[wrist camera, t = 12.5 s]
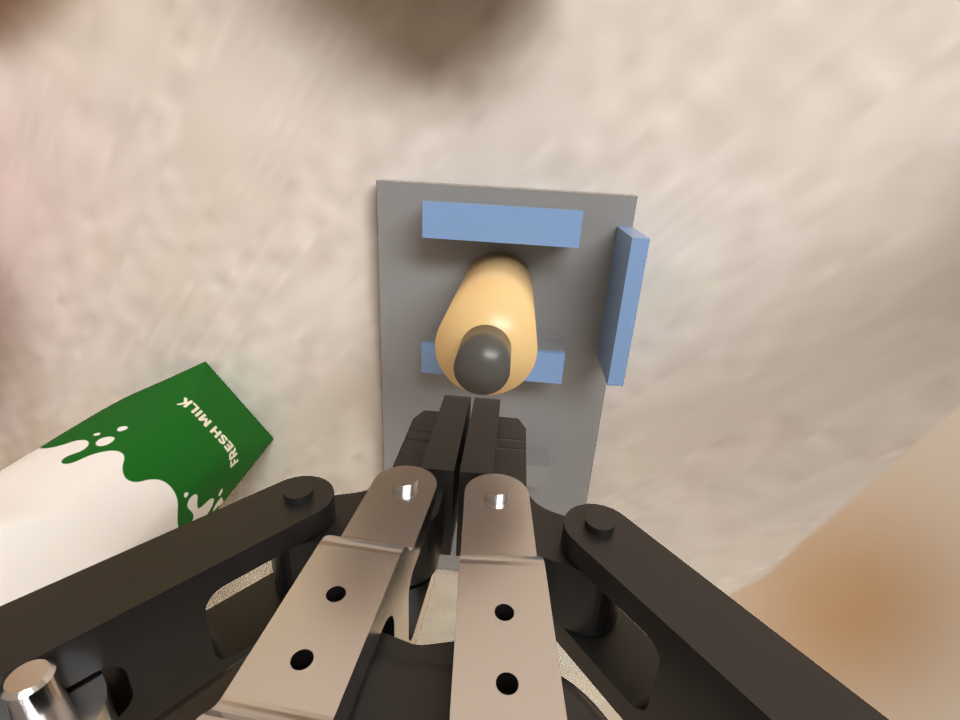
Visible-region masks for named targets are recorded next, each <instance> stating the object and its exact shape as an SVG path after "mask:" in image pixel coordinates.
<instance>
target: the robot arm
mask: <svg viewBox="0 0 960 720" xmlns="http://www.w3.org/2000/svg"><path fill="white" fill-rule="evenodd" d="M500 400H501V399H492V398H480V397H475V398H474V403H473V408H472V413H471V397H468V396H456V395H444V398H443V401H442V404H441V407H440V410H439V411H427V410H424V411H423V412H421V413H420V414H419V415H417V416H416V417H415V418H413V420H412V422H411V424H410V427H409V429H408V432H407V434H406V436H405V440H404V441H403V443H402V446H401V448H400V450H399V453H398V455H397V457H396V460H395V462H394V465H393V467H392V468H390V469H387V470H385V471H383V472H381V473H380V474H379V475H378V476H377V477H376V478H375V479H374V481H373V483H372V484H371V486H370V488H369V489H368V490H366V491H362V492H357V493H351V494H342V495H334V490H333V487H332V485H331V484H330V483H329V482H328V481H326V480H324V479H322V478H319V477H314V476H300V477H294V478H290V479H287V480H284V481H282V482H280V483H277V484H275V485H273V486H271V487H268V488H266V489H264V490H262V491H259V492H257V493H255V494H253V495H250V496H248V497H246V498H244V499H241V500H239V501H237V502H234V503H232V504H230V505H228V506H225V507H223V508H221V509H219V510H216V511H214V512H212V513H210V514H207V515H205V516H203V517H201V518H198V519H196V520H194V521H192V522H189V523H187V524H185V525H183V526H180V527H178V528H176V529H174V530H171V531H169V532H167V533H164V534H162V535H160V536H158V537H155V538H153V539H151V540H149V541H146V542H144V543H142V544H140V545H137V546H135V547H133V548H131V549H128V550H126V551H124V552H122V553H119V554H117V555H115V556H113V557H110V558H108V559H106V560H104V561H101V562H99V563H97V564H95V565H92V566H90V567H88V568H85V569H83V570H81V571H79V572H76V573H74V574H72V575H70V576H67V577H65V578H63V579H61V580H58V581H56V582H54V583H52V584H49V585H47V586H45V587H43V588H40V589H38V590H36V591H34V592H31V593H29V594H27V595H25V596H22V597H20V598H18V599H16V600H13V601H11V602H9V603H6V604H4V605H2V606H0V720H608V719H607V718H606V717H605V716H604V714H603V713H602V712H601V711H600V710H599V708H598V707H597V706H596V705H595V704H594V703H593V702H592V701H591V700H590V699H589V698H588V697H587V696H586V695H585V694H584V693H583V692H582V691H581V690H579V689H578V688H577V687H576V686H575V685H573V684H572V683H571V682H569V681H568V680H566V679H565V678H563V677H562V676H561V673H560V666H559V659H558V652H557V645H556V641H557V642H558V643H559V645H560V646H561V647H562V648H563V649H564V650H565V652H566V653H567V654H568V655H569V656H570V658H571V659H572V660H573V661H574V662H575V663H576V665H577V666H578V667H579V668H580V669H581V671H582V672H583V673H584V674H585V675H586V676H587V678H588V679H589V680H590V681H591V682H592V684H593V685H594V686H595V687H596V688H597V689H598V691H599V692H600V693H601V694H602V695H603V697H604V698H605V699H606V700H607V701H608V703H609V704H610V705H611V706H612V707H613V708H614V710H615V711H616V712H617V713H618V714H619V715H620V717H621V718H622V719H623V720H888V719H887V718H886V717H885V716H883V715H882V714H881V713H879V712H878V711H877V710H876V709H874V708H873V707H872V706H870V705H869V704H868V703H866V702H865V701H864V700H863V699H861V698H860V697H859V696H857V695H856V694H855V693H853V692H852V691H851V690H849V689H848V688H847V687H846V686H844V685H843V684H842V683H840V682H839V681H838V680H836V679H835V678H834V677H833V676H831V675H830V674H829V673H827V672H826V671H825V670H824V669H822V668H821V667H820V666H818V665H817V664H815V663H814V662H813V661H812V660H810V659H809V658H808V657H807V656H805V655H804V654H803V653H802V652H800V651H799V650H797V649H796V648H795V647H794V646H792V645H791V644H790V643H788V642H787V641H786V640H785V639H783V638H782V637H781V636H779V635H778V634H777V633H775V632H774V631H773V630H772V629H770V628H769V627H768V626H766V625H765V624H764V623H763V622H761V621H760V620H759V619H757V618H756V617H755V616H753V615H752V614H751V613H749V612H748V611H747V610H745V609H744V608H743V607H742V606H740V605H739V604H738V603H737V602H735V601H734V600H733V599H731V598H730V597H729V596H727V595H726V594H725V593H724V592H722V591H721V590H720V589H718V588H717V587H716V586H714V585H713V584H712V583H711V582H709V581H708V580H707V579H705V578H704V577H703V576H701V575H700V574H699V573H698V572H696V571H695V570H694V569H692V568H691V567H690V566H688V565H687V564H686V563H685V562H683V561H682V560H681V559H679V558H678V557H677V556H675V555H674V554H673V553H672V552H670V551H669V550H668V549H666V548H665V547H664V546H662V545H661V544H660V543H659V542H657V541H656V540H655V539H653V538H652V537H651V536H649V535H648V534H647V533H646V532H644V531H643V530H642V529H640V528H639V527H638V526H636V525H635V524H634V523H633V522H631V521H630V520H629V519H627V518H626V517H625V516H623V515H622V514H621V513H619V512H617V511H615V510H614V509H611V508H609V507H606V506H602V505H597V504H583V505H578V506H575V507H573V508H572V509H570V510H569V511H568V512H567V513H566V515H565V516H564V515H561V514H558V513H555V512H552V511H549V510H547V509H545V508H543V507H542V506H540V505H539V504H537V503H536V502H535V501H534V500H533V499H532V498H531V497H530V495H529V492H528V490H527V484H526V428H525V427H524V425H523V424H522V423H521V421H520V420H519V419H518V418H509V417H499V414H500ZM470 415H471V418H470ZM456 523H457V540H456V556H460V565H459V581H458V596H457V612H456V627H455V641H454V642H446V643H438V644H430V645H416V642H417V639H418V636H419V632H420V629H421V626H422V622H423V619H424V616H425V612H426V609H427V606H428V602H429V599H430V596H431V592H432V589H433V586H434V581H435V570H436V568H437V565H438V561H439V556H440V554H442V555H451V550H452V545H453V539H454V534H455V528H456ZM270 560H271V561H272V568H273V573H271V574H270V575H268V576H266V577H264V578H263V579H261V580H259V581H257V582H256V583H254V584H252V585H250V586H249V587H247V588H245V589H243V590H242V591H240V592H238V593H236V594H235V595H233V596H231V597H229V598H228V599H226V600H224V601H222V602H221V603H219V604H217V605H215V606H214V607H212V608H210V609H208V610H206V605H207V603H208V601H209V599H210V598H211V596H212V595H213V594H214V593H215V592H216V591H217V590H218V589H220V588H221V587H223V586H224V585H226V584H228V583H230V582H232V581H233V580H235V579H237V578H239V577H241V576H242V575H244V574H246V573H248V572H250V571H252V570H253V569H255V568H257V567H259V566H261V565H262V564H264V563H266V562H268V561H270ZM619 608H620V609H621V610H622V611H623V612H622V611H621V610H620V609H619ZM205 610H206V611H205ZM637 625H638V626H639V627H640V628H641V629H642V630H643V631H644V632H645V633H646V634H647V635H648V636H647V635H646V634H645V633H644V632H643V631H642V630H641V629H640V628H639V627H638V626H637Z"/></svg>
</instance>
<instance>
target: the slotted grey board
mask: <svg viewBox="0 0 960 720" xmlns="http://www.w3.org/2000/svg"><path fill="white" fill-rule="evenodd" d="M376 186H377V223H378V261H379V298H380V336H381V374H382V411H383V449H384V471H385V470H387V469H390V468H392V467H393V465H394V462H395V460H396V457H397V455H398V453H399V450H400V448H401V446H402V443H403V441H404V440H405V436H406V434H407V432H408V429H409V427H410V424H411V422H412V420H413V418H415V417H416V416H417V415H419V414H420V413H421V412H423V411H424V410H427V411H439V410H440V407H441V404H442V401H443V398H444V395H456V396H468V397H471V413H472V408H473V403H474V398H475V397H480V398H492V399H501V400H500V414H499V417H509V418H518V419H519V420H520V421H521V423H522V424H523V425H524V427H525V428H526V484H527V490H528V492H529V495H530V497H531V498H532V499H533V500H534V501H535V502H536V503H537V504H539V505H540V506H542V507H543V508H545V509H547V510H549V511H552V512H555V513H558V514H561V515H564V516H565V515H566V513H567V512H568V511H569V510H570V509H572V508H573V507H575V506H578V505H583V504H586V500H587V494H588V488H589V483H590V477H591V471H592V465H593V459H594V453H595V447H596V441H597V435H598V429H599V423H600V417H601V411H602V405H603V399H604V393H605V387H606V382H607V385H615V386H623V383H624V377H625V372H626V367H627V361H628V356H629V350H630V345H631V339H632V334H633V328H634V323H635V317H636V312H637V306H638V301H639V295H640V290H641V285H642V279H643V274H644V268H645V263H646V257H647V252H648V246H649V241H650V239H649V238H648V237H646V236H645V235H643V234H642V233H640V232H639V231H637V230H635V229H634V228H632V226H633V221H634V215H635V209H636V203H637V197H638V196H635V195H625V194H609V193H592V192H576V191H559V190H543V189H527V188H510V187H494V186H477V185H461V184H444V183H428V182H412V181H395V180H376ZM491 252H505V253H509V254H512V255H514V256H516V257H517V258H519V259H520V260H521V261H522V262H523V263H524V264H525V265H526V266H527V267H528V269H529V271H530V273H531V276H532V280H533V291H534V305H535V320H536V334H537V357H536V361H535V364H534V367H533V369H532V371H531V372H530V374H529V375H528V377H527V378H526V379H525V380H524V381H523V382H522V383H521V384H519V385H518V386H517V387H515V388H513V389H511V390H509V391H507V392H504V393H501V394H496V395H477V394H473V393H470V392H468V391H465V390H463V389H461V388H460V387H458V386H457V385H455V384H454V383H453V382H451V381H450V380H449V379H448V378H447V376H446V375H445V374H444V373H443V371H442V369H441V368H440V366H439V364H438V361H437V358H436V352H435V339H436V335H437V331H438V329H439V326H440V324H441V322H442V320H443V318H444V316H445V314H446V312H447V310H448V308H449V306H450V304H451V302H452V300H453V298H454V296H455V294H456V292H457V290H458V288H459V286H460V284H461V282H462V280H463V278H464V276H465V274H466V272H467V270H468V269H469V267H470V266H471V264H472V263H473V262H474V261H475V260H476V259H478V258H479V257H481V256H482V255H485V254H487V253H491ZM470 418H471V415H470ZM456 540H457V523H456V528H455V534H454V539H453V545H452V550H451V555H442V554H440V556H439V561H438V565H437V568H436V569H445V570H455V571H459V565H460V556H456Z"/></svg>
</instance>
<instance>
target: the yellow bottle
mask: <svg viewBox="0 0 960 720" xmlns="http://www.w3.org/2000/svg"><path fill="white" fill-rule="evenodd" d="M435 352H436V358H437V361H438V364H439V366H440V368H441V369H442V371H443V373H444V374H445V375H446V376H447V378H448V379H449V380H450V381H451V382H453V383H454V384H455V385H457V386H458V387H460V388H461V389H463V390H465V391H468V392H470V393H473V394H477V395H496V394H501V393H504V392H507V391H509V390H511V389H513V388H515V387H517V386H518V385H519V384H521V383H522V382H523V381H524V380H525V379H526V378H527V377H528V375H529V374H530V372H531V371H532V369H533V367H534V364H535V361H536V357H537V334H536V320H535V305H534V291H533V280H532V276H531V273H530V271H529V269H528V267H527V266H526V265H525V264H524V263H523V262H522V261H521V260H520V259H519V258H517V257H516V256H514V255H512V254H509V253H505V252H491V253H487V254H485V255H482V256H481V257H479V258H478V259H476V260H475V261H474V262H473V263H472V264H471V266H470V267H469V269H468V270H467V272H466V274H465V276H464V278H463V280H462V282H461V284H460V286H459V288H458V290H457V292H456V294H455V296H454V298H453V300H452V302H451V304H450V306H449V308H448V310H447V312H446V314H445V316H444V318H443V320H442V322H441V324H440V326H439V329H438V331H437V335H436V339H435Z"/></svg>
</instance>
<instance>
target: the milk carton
mask: <svg viewBox="0 0 960 720" xmlns="http://www.w3.org/2000/svg"><path fill="white" fill-rule="evenodd" d="M272 440H273V437H272V436H271V435H270V434H269V433H268V432H267V431H266V430H265V428H264V427H263V426H262V425H261V424H260V423H259V422H258V420H257V419H256V418H255V417H254V416H253V415H252V414H251V413H250V411H249V410H248V409H247V408H246V407H245V406H244V405H243V404H242V402H241V401H240V400H239V399H238V398H237V397H236V396H235V394H234V393H233V392H232V391H231V390H230V389H229V388H228V387H227V385H226V384H225V383H224V382H223V381H222V380H221V379H220V378H219V376H218V375H217V374H216V373H215V372H214V371H213V370H212V368H211V367H210V366H209V365H208V364H207V363H206V362H204V363H201V364H199V365H197V366H195V367H193V368H191V369H188V370H186V371H184V372H182V373H179V374H177V375H175V376H173V377H171V378H168V379H166V380H164V381H162V382H160V383H157V384H155V385H153V386H150V387H148V388H146V389H143V390H141V391H139V392H137V393H134V394H132V395H130V396H128V397H126V398H124V399H122V400H120V401H118V402H116V403H114V404H112V405H111V406H109V407H107V408H105V409H103V410H101V411H100V412H98V413H96V414H94V415H93V416H91V417H89V418H88V419H86V420H84V421H83V422H81V423H79V424H78V425H76V426H74V427H73V428H71V429H69V430H68V431H66V432H64V433H63V434H61V435H59V436H58V437H56V438H54V439H53V440H51V441H49V442H48V443H46V444H44V445H43V446H41V447H39V448H38V449H36V450H34V451H33V452H31V453H29V454H27V455H26V456H24V457H22V458H21V459H19V460H17V461H16V462H14V463H12V464H11V465H9V466H7V467H6V468H4V469H2V470H1V471H0V606H2V605H4V604H6V603H9V602H11V601H13V600H16V599H18V598H20V597H22V596H25V595H27V594H29V593H31V592H34V591H36V590H38V589H40V588H43V587H45V586H47V585H49V584H52V583H54V582H56V581H58V580H61V579H63V578H65V577H67V576H70V575H72V574H74V573H76V572H79V571H81V570H83V569H85V568H88V567H90V566H92V565H95V564H97V563H99V562H101V561H104V560H106V559H108V558H110V557H113V556H115V555H117V554H119V553H122V552H124V551H126V550H128V549H131V548H133V547H135V546H137V545H140V544H142V543H144V542H146V541H149V540H151V539H153V538H155V537H158V536H160V535H162V534H164V533H167V532H169V531H171V530H174V529H176V528H178V527H180V526H183V525H185V524H187V523H189V522H192V521H194V520H196V519H198V518H201V517H203V516H205V515H207V514H210V513H212V512H214V511H216V510H217V509H218V508H219V507H220V505H221V504H222V503H223V502H224V501H225V499H226V498H227V497H228V496H229V494H230V493H231V492H232V491H233V489H234V488H235V487H236V486H237V484H238V483H239V482H240V481H241V479H242V478H243V477H244V475H245V474H246V473H247V472H248V470H249V469H250V468H251V467H252V465H253V464H254V463H255V461H256V460H257V459H258V458H259V456H260V455H261V454H262V452H263V451H264V450H265V449H266V447H267V446H268V445H269V444H270V442H271V441H272Z"/></svg>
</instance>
